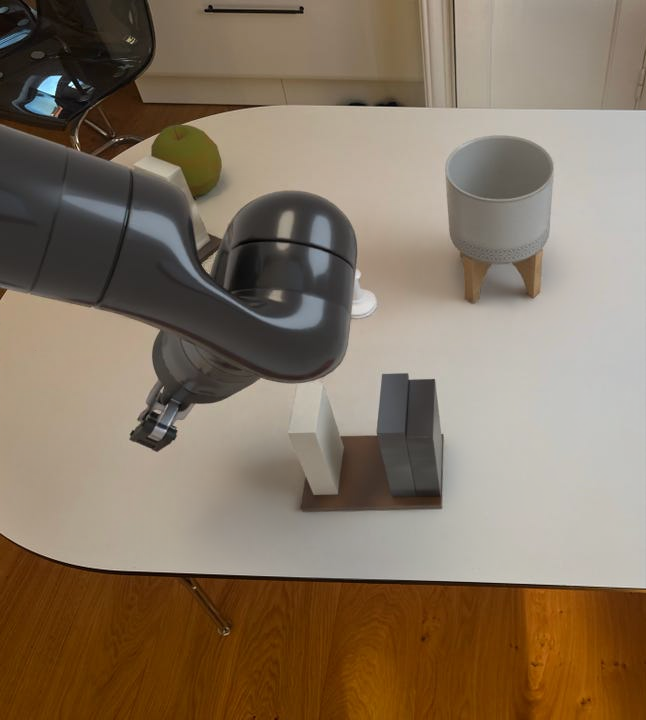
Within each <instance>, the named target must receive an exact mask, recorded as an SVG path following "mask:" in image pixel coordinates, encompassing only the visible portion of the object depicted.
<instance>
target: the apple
mask: <svg viewBox="0 0 646 720" xmlns="http://www.w3.org/2000/svg"><path fill="white" fill-rule="evenodd" d="M150 149H151V150H150V153H151V154H150V156H152V157H155V158H157V159H160V160H163V161H165V162H168V163H171V164H173V165H176V166H179V167H180V168H181V170H182V173H183V175H184V178H185V180H186V182H187V185H188V187H189V190H190V192H191V194H192V197H193V198H194V197H199V196H203V195H205V194H206V193H208V192H210V191H212V190H213V189H214V188H215V187H217V185H218V183H219V181H220V176H221V173H222V166H223V164H222V163H223V162H222V158H221V155H220V150H219V148H218V144H216V143H215V142H214V141H213V139H212V138H211V137H210V136H209V135H208V134H207V133H206V132H205V131H204V130H202V129H200V128H197V127H195V126H193V125H189V124H173V125H169V126H166V127H164V128H163V129H162V130H161V131H160V132H159V133H158V135H157V136H156V137H155V138H154V141H153V142H152V144H151V147H150Z"/></svg>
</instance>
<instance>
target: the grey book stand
mask: <svg viewBox="0 0 646 720" xmlns="http://www.w3.org/2000/svg"><path fill="white" fill-rule="evenodd" d="M436 383H437V382H436V379H435V378H420V379H417V378H416V379H414V378H413V379H410V377H409V373H408V372H404V373H401V372H400V373H397V372H396V373H382V374H381V383H380V392H379V404H378V405H379V406H378V413H377V423H376V424H377V425H376V435H340V437H341V440H342V443H343V446H344V449H343V457H342V465H341V473H340V480H339V488H338V494H335V495H314V494H313V492H312V490H311V487H310V485H309V483H308V480H307V478H306V475H305V476H304V483H303V484H304V485H303V489H302V496H301V501H300V506H299V507H300V510H301V512H303V513H304V512H346V511H383V510H385V511H386V510H387V511H389V510H391V511H392V510H427V509H428V510H429V509H432V510H433V509H443V492H444V491H443V490H444V449H445V448H444V445H445V443H444V442H445V437H444V433H442V427H441V418H440V410H439V402H438V393H437V385H436Z"/></svg>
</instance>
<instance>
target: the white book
mask: <svg viewBox="0 0 646 720" xmlns="http://www.w3.org/2000/svg"><path fill="white" fill-rule="evenodd" d="M287 435H288V438H289V440H290V442H291V444H292V446H293V449H294V451H295V454H296V456H297V458H298V461H299V463H300V465H301V468H302V470H303V472H304V475H305V476H306V478H307V480H308V483H309V485H310V487H311V490H312V492H313V494H314V495H335V494H338V488H339V480H340V473H341V465H342V457H343V449H344V446H343V443H342V440H341V437H340V436H341V434H340V430H339V428H338V425H337V422H336V418H335V414H334V412H333V409H332V406H331V403H330V399H329V396H328V393H327V390H326V387H325V383H324V382H323V381H315V382H314V381H311V382H306V383H298V384H296V388H295V392H294V398H293V403H292V409H291V413H290V419H289V425H288V431H287Z"/></svg>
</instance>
